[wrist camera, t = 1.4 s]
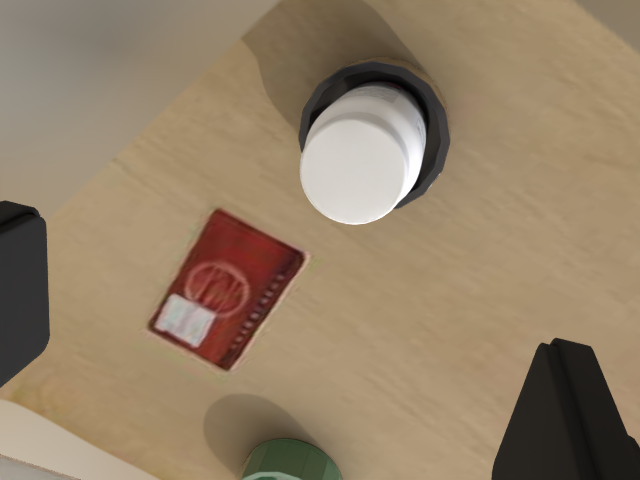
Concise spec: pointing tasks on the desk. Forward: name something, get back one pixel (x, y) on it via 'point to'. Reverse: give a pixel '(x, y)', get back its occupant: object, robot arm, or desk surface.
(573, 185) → the desk surface
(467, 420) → the desk surface
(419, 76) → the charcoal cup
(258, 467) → the green round container
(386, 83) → the pill bottle
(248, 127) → the desk surface
